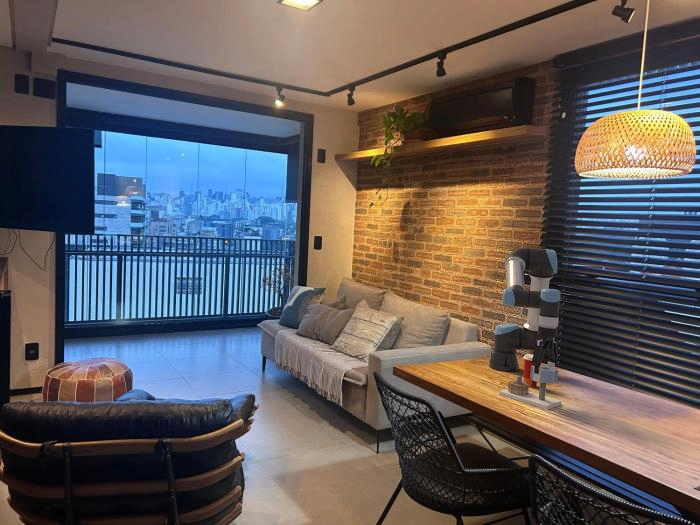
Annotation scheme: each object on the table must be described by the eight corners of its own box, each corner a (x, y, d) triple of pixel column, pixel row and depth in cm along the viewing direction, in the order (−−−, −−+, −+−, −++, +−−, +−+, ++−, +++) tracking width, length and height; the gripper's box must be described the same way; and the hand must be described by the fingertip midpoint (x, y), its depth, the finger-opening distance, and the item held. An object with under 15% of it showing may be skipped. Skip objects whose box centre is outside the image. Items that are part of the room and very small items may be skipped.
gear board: (513, 390, 229) (515, 371, 229) (561, 404, 213) (562, 384, 212) (498, 394, 221) (500, 375, 221) (546, 409, 205) (548, 388, 204)
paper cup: (536, 383, 242) (538, 354, 241) (540, 388, 234) (543, 358, 233) (519, 382, 243) (521, 353, 242) (523, 387, 235) (525, 357, 234)
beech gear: (514, 388, 227) (515, 379, 226) (531, 393, 221) (532, 384, 220) (504, 391, 221) (505, 382, 221) (521, 396, 215) (522, 387, 215)
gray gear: (561, 381, 212) (562, 369, 211) (549, 385, 205) (550, 372, 205) (538, 375, 219) (539, 363, 219) (525, 378, 212) (526, 366, 212)
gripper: (552, 323, 221) (548, 373, 222) (525, 326, 206) (520, 380, 207) (569, 326, 216) (565, 377, 217) (542, 330, 201) (538, 385, 202)
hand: (543, 379), depth 212 cm, fingers closed on gray gear, 10 cm apart
